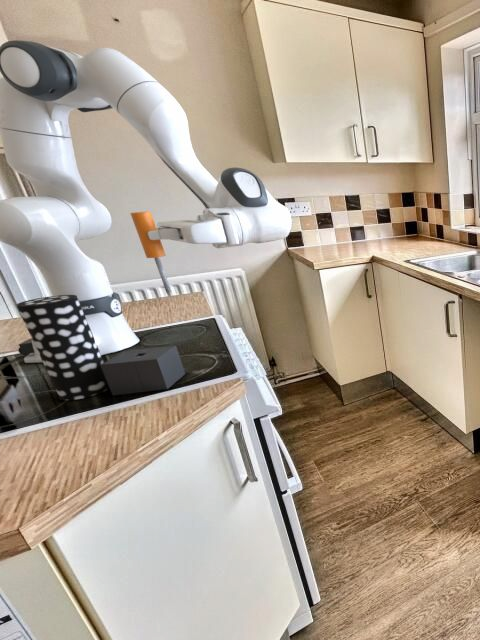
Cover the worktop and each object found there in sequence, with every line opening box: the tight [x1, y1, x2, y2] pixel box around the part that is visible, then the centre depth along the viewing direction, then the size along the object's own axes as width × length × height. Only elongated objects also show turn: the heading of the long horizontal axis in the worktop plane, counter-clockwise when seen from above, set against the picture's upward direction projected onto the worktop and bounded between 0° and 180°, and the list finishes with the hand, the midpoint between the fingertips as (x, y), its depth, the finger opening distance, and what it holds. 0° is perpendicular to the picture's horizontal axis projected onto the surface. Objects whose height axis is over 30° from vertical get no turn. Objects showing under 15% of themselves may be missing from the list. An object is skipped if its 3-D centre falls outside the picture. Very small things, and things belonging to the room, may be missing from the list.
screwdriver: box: [130, 211, 172, 294], centre depth 89 cm, size 3×3×17 cm
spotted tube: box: [15, 295, 110, 401], centre depth 86 cm, size 8×8×20 cm
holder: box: [100, 345, 186, 396], centre depth 91 cm, size 10×8×7 cm
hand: (144, 235), depth 87 cm, fingers closed on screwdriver, 3 cm apart
